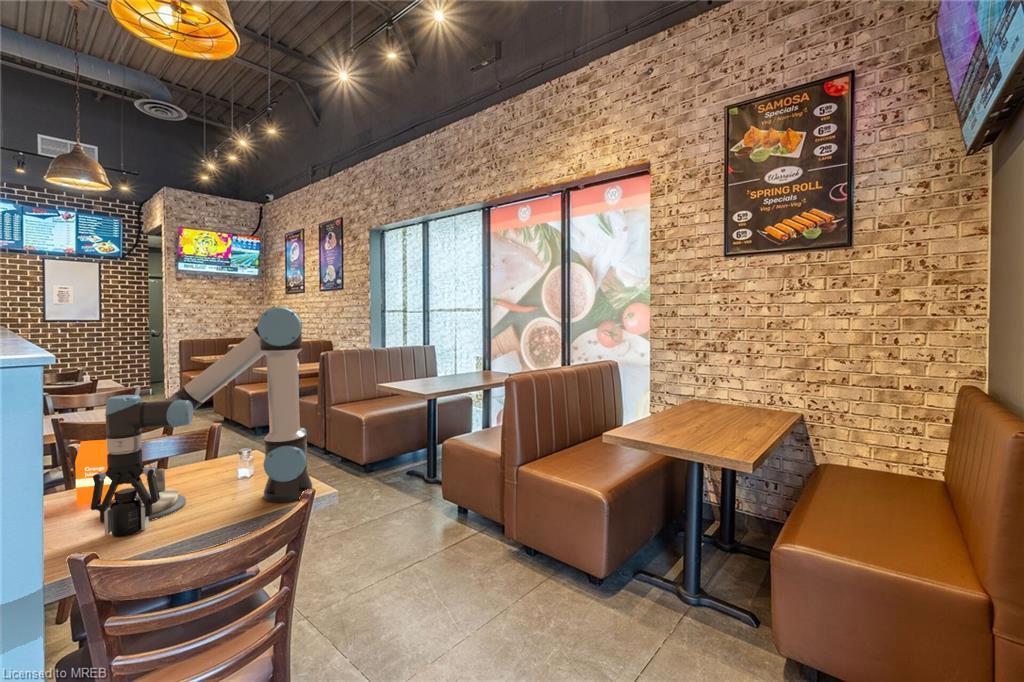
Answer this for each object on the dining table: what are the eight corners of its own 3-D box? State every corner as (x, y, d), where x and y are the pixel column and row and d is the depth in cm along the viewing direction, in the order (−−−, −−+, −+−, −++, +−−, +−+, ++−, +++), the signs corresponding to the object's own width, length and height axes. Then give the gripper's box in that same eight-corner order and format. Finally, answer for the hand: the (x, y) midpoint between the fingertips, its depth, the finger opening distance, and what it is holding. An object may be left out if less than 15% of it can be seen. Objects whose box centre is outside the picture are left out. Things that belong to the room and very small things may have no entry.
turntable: (140, 495, 151) (139, 467, 150) (190, 495, 151) (190, 468, 150) (92, 517, 134) (91, 486, 133) (149, 518, 134) (149, 487, 133)
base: (193, 493, 156) (193, 482, 156) (173, 518, 136) (173, 506, 136) (118, 501, 148) (117, 489, 148) (85, 530, 129) (84, 516, 129)
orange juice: (88, 496, 152) (86, 438, 151) (121, 493, 155) (119, 436, 154) (76, 505, 145) (73, 444, 144) (110, 502, 148) (108, 442, 147)
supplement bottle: (143, 524, 133) (142, 484, 132) (142, 533, 127) (141, 491, 127) (112, 531, 128) (110, 489, 128) (110, 540, 123) (108, 497, 122)
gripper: (70, 458, 119) (73, 542, 121) (164, 450, 127) (166, 530, 128) (85, 450, 126) (87, 529, 128) (173, 443, 134) (174, 518, 135)
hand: (127, 529), depth 128 cm, fingers open, 8 cm apart
